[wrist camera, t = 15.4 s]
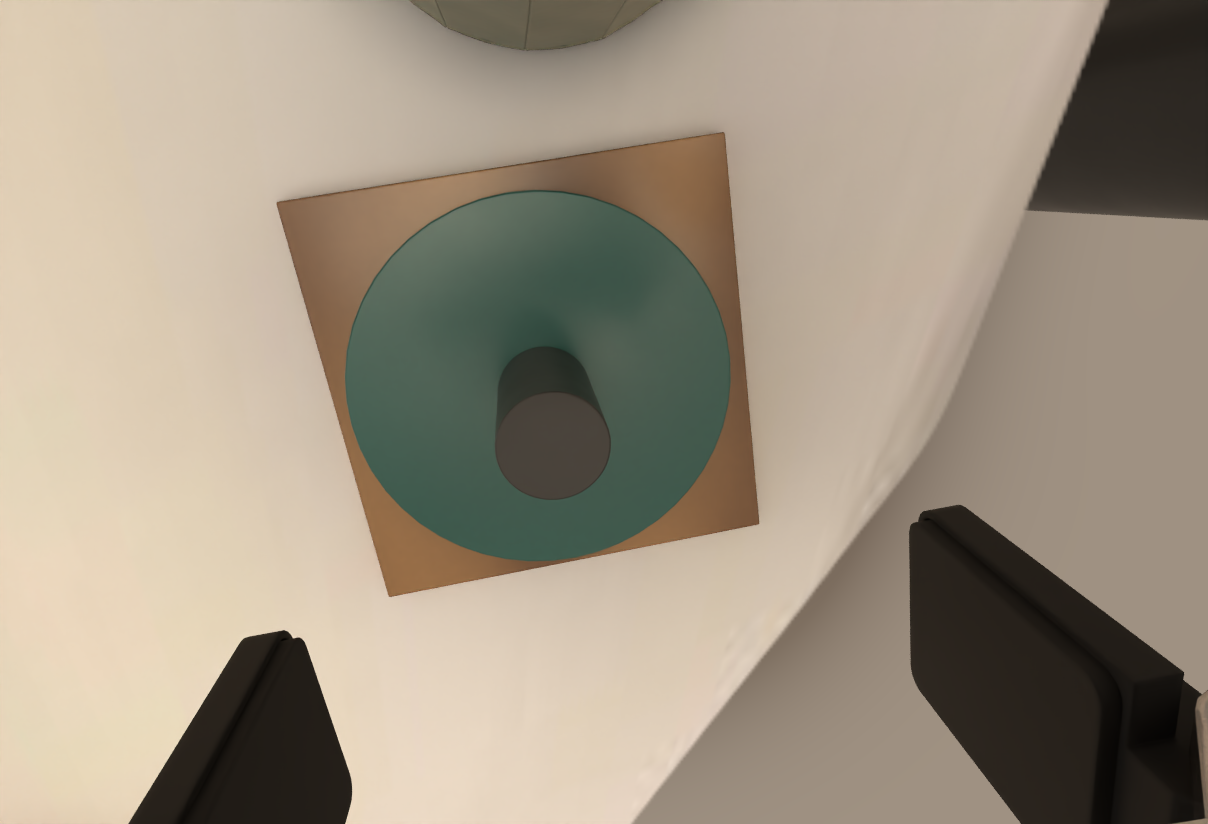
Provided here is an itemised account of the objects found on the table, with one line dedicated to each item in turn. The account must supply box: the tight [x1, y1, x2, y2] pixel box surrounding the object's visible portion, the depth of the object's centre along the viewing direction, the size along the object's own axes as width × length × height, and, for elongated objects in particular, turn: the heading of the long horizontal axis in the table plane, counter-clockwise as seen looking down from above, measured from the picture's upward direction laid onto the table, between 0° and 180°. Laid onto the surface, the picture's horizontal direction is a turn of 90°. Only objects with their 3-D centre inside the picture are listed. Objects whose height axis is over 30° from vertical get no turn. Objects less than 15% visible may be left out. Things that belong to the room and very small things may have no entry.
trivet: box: [277, 132, 759, 597], centre depth 26 cm, size 15×15×1 cm
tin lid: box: [345, 190, 731, 561], centre depth 23 cm, size 13×13×7 cm
